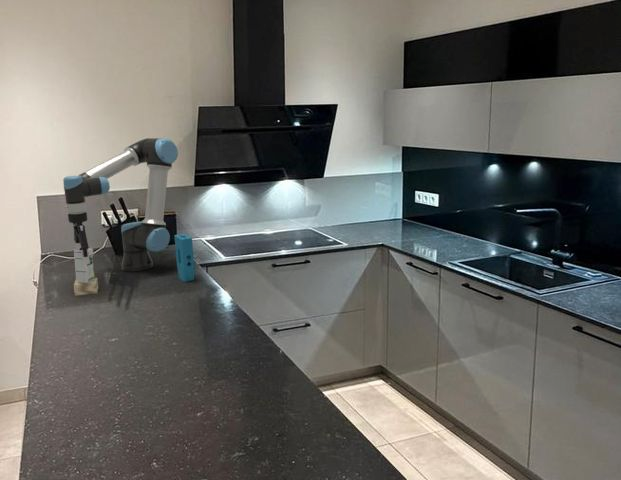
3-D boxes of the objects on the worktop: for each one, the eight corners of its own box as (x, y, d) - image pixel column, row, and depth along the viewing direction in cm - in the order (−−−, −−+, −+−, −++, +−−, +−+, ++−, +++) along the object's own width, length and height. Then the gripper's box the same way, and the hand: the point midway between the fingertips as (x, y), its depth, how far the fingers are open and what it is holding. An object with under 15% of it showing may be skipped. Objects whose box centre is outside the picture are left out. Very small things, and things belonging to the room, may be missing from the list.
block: (177, 276, 272) (173, 235, 268) (187, 274, 275) (184, 233, 270) (185, 282, 262) (181, 239, 258) (195, 280, 265) (192, 238, 260)
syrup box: (87, 283, 249) (85, 250, 246) (75, 282, 250) (73, 249, 247) (95, 279, 254) (93, 247, 251) (83, 278, 256) (81, 246, 252)
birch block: (98, 288, 259) (97, 277, 258) (97, 294, 250) (95, 282, 249) (76, 290, 256) (75, 279, 255) (74, 296, 248) (73, 285, 247)
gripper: (63, 209, 254) (69, 256, 259) (72, 218, 233) (79, 268, 238) (81, 207, 258) (87, 253, 263) (91, 215, 237) (98, 265, 242)
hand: (83, 260), depth 250 cm, fingers open, 13 cm apart
